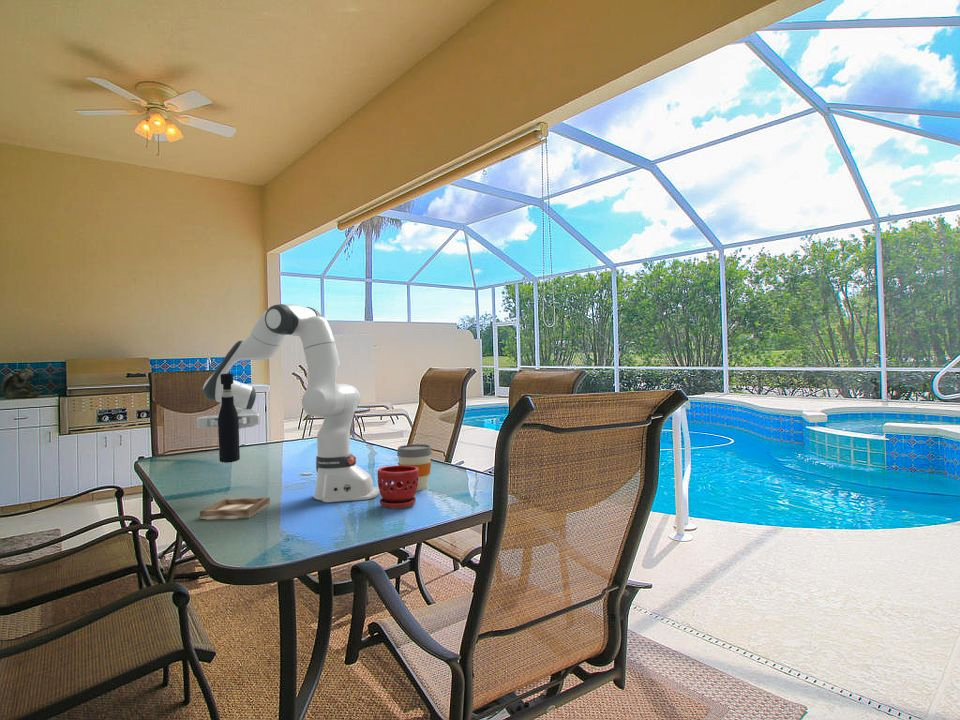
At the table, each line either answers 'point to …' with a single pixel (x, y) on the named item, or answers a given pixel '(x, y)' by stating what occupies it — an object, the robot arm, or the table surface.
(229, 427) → the wine bottle
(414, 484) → the plant pot
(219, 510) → the bottle coaster
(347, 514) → the table surface
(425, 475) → the reusable coffee cup
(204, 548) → the table surface
